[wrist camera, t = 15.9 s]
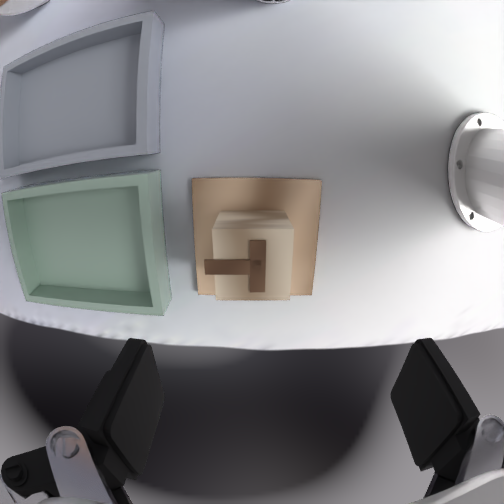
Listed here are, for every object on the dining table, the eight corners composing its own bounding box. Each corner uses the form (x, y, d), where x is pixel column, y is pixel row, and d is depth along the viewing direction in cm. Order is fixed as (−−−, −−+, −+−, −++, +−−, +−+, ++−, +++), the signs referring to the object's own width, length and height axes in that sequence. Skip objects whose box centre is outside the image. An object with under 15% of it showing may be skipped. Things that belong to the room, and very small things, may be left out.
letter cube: (284, 210, 22) (294, 229, 17) (282, 269, 24) (289, 301, 19) (212, 210, 22) (202, 230, 17) (215, 269, 24) (207, 301, 19)
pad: (320, 179, 22) (321, 180, 21) (310, 291, 25) (311, 295, 25) (193, 178, 22) (191, 179, 21) (199, 291, 25) (198, 294, 25)
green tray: (160, 169, 21) (147, 173, 18) (171, 298, 25) (163, 315, 23) (20, 187, 21) (1, 193, 18) (40, 288, 25) (26, 301, 23)
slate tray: (164, 24, 17) (153, 10, 14) (159, 152, 21) (147, 154, 18) (21, 69, 16) (3, 66, 14) (18, 174, 21) (0, 179, 18)
